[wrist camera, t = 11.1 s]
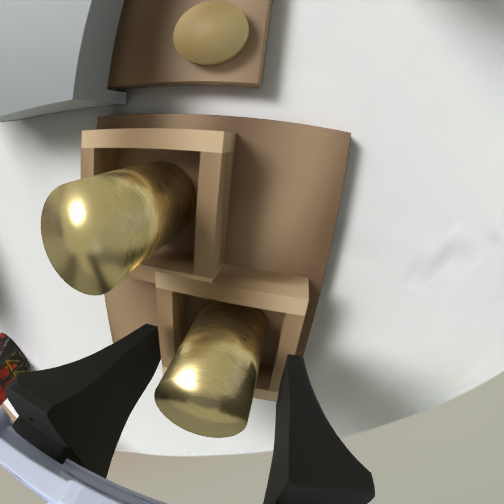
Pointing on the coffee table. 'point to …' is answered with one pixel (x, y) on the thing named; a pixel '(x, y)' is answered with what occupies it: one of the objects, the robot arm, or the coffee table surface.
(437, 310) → the coffee table surface
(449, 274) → the coffee table surface
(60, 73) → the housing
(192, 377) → the brass peg
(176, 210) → the placed peg
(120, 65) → the board
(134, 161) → the peg board
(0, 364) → the deodorant
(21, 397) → the robot arm
